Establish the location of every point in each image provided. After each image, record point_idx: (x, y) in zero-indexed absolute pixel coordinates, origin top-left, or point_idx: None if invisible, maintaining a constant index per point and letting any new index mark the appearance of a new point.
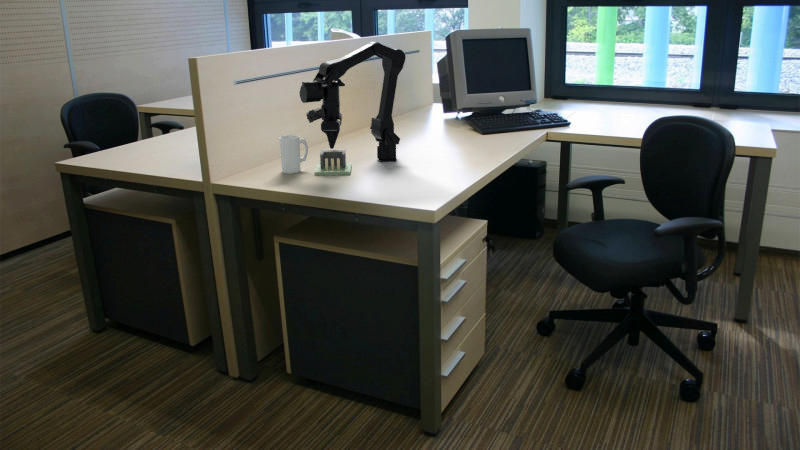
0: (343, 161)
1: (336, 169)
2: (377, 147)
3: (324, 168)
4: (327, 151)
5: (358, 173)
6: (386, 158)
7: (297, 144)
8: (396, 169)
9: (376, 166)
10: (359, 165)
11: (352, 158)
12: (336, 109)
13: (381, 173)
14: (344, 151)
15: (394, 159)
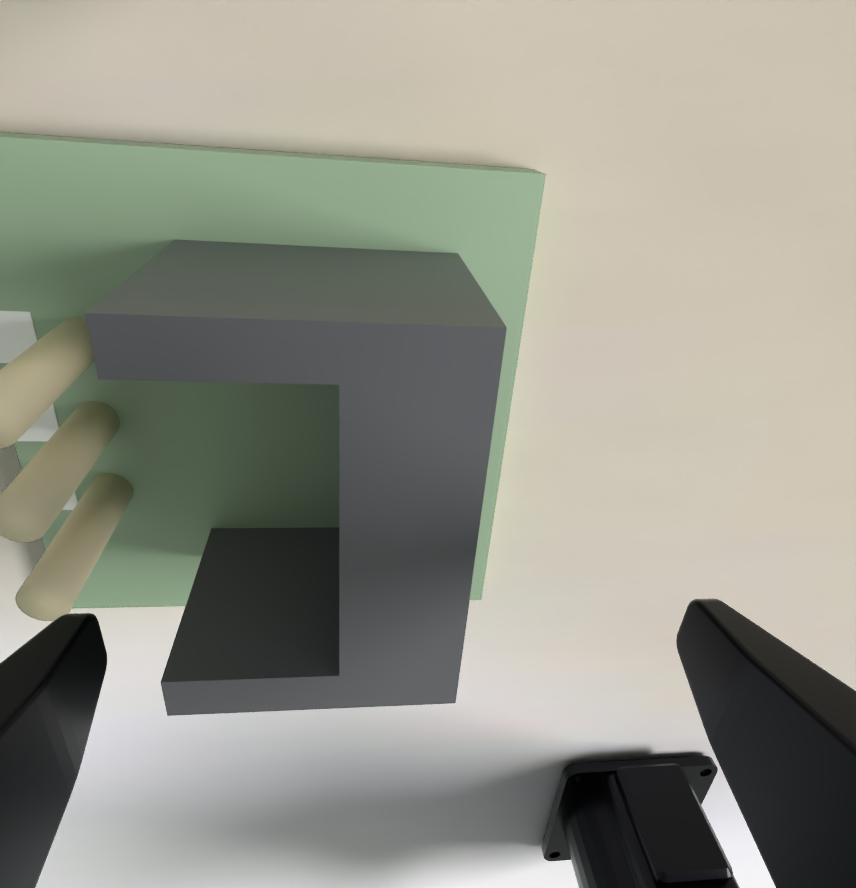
0: (193, 604)
1: (153, 463)
2: (671, 878)
3: None
4: (380, 456)
5: (142, 646)
6: (568, 825)
7: None
8: (300, 858)
9: (407, 753)
10: (464, 640)
11: (763, 574)
12: None
13: (164, 793)
14: (360, 696)
15: (559, 851)
